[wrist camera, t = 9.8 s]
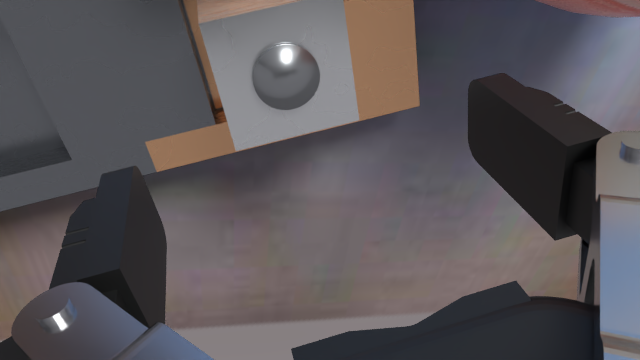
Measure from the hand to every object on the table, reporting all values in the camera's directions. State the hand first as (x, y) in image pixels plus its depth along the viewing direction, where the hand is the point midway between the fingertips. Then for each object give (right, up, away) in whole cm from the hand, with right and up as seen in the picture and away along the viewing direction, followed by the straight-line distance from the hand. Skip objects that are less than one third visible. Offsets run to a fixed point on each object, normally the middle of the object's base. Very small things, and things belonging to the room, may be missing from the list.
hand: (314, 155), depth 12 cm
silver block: (-2, +6, +9) cm, 11 cm away
